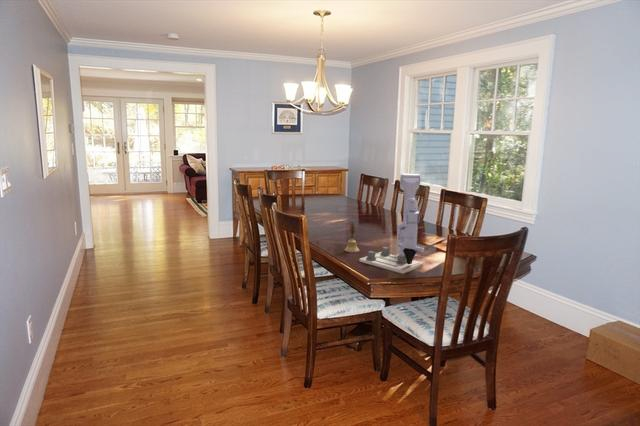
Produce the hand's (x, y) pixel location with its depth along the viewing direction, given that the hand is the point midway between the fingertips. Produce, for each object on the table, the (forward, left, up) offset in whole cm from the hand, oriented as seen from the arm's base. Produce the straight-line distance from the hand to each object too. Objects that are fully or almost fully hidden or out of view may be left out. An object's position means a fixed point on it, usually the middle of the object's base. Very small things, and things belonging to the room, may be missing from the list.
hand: (409, 263), depth 215 cm
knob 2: (-6, -18, -1) cm, 19 cm away
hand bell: (-4, -39, -3) cm, 40 cm away
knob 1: (+6, -18, -1) cm, 19 cm away
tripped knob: (0, -4, -1) cm, 4 cm away
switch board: (0, -10, -2) cm, 11 cm away
